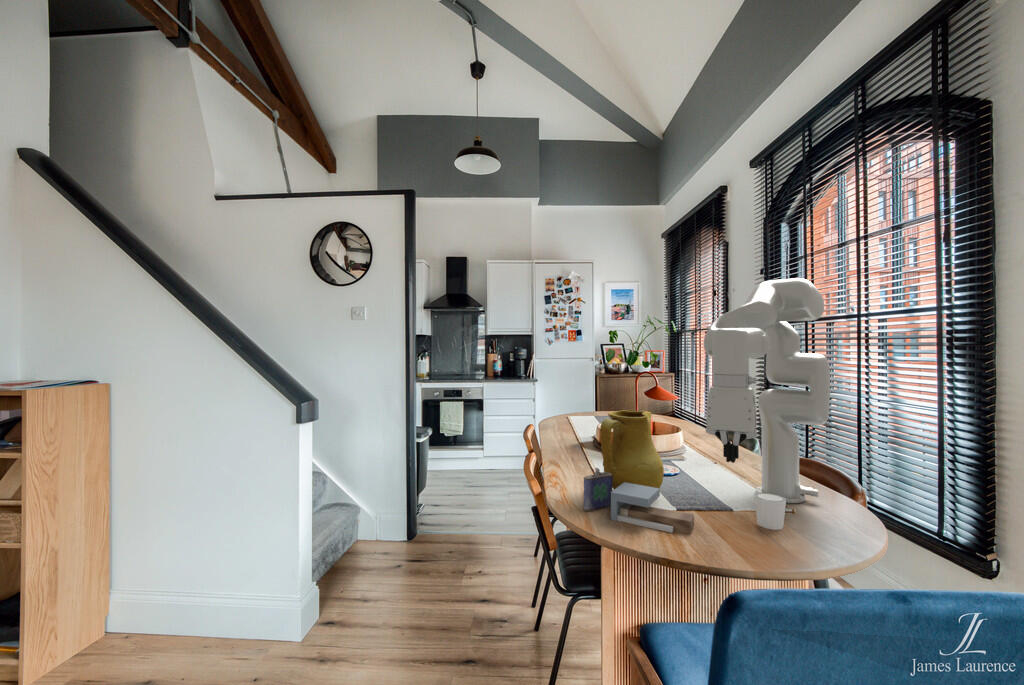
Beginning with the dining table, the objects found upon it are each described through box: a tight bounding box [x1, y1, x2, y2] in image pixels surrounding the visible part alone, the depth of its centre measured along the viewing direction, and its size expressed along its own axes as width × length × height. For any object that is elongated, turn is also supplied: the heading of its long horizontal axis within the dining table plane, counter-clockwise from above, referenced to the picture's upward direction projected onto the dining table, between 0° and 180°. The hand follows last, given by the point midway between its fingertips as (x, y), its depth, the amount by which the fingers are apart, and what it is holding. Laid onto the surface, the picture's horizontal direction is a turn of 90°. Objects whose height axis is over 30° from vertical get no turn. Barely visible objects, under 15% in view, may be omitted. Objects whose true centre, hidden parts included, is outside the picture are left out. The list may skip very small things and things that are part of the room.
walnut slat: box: [620, 503, 695, 534], centre depth 112 cm, size 17×5×3 cm, turn 60°
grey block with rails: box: [610, 482, 674, 534], centre depth 114 cm, size 15×10×7 cm, turn 57°
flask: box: [583, 467, 613, 513], centre depth 122 cm, size 9×3×11 cm, turn 117°
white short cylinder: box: [754, 493, 787, 531], centre depth 111 cm, size 7×7×7 cm
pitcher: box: [599, 409, 665, 491], centre depth 132 cm, size 17×19×25 cm
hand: (731, 460), depth 103 cm, fingers closed
